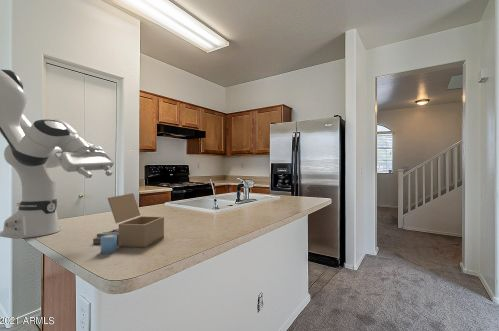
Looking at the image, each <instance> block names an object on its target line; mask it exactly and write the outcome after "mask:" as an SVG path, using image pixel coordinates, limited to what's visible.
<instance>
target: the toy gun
mask: <svg viewBox="0 0 499 331" xmlns="http://www.w3.org/2000/svg"><path fill="white" fill-rule="evenodd" d="M105 235H117V243H119V228H117V229H116V228H115V229H113V230H110V231H104V232H100V233H97V234H96V237H95V238H93V239H92V240H93V244H95V245H96V244H101V237H102V236H105Z"/></svg>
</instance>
